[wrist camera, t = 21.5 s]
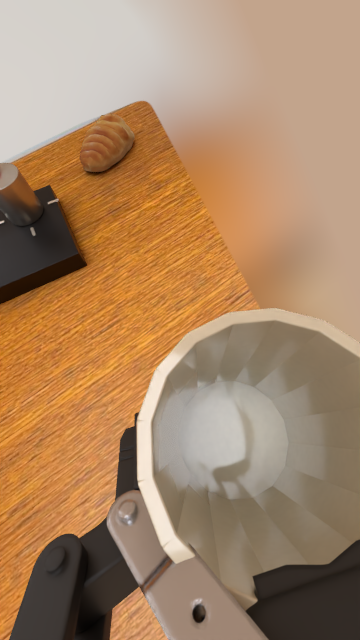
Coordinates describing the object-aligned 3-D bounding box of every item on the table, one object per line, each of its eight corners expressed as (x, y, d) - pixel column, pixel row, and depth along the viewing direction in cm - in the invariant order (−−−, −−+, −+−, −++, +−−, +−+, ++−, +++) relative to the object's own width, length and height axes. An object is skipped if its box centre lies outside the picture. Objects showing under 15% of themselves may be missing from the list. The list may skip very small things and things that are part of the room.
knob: (46, 218, 33) (19, 179, 28) (12, 231, 33) (-22, 193, 28) (39, 195, 35) (12, 155, 30) (7, 207, 34) (-26, 168, 29)
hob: (58, 195, 38) (49, 179, 36) (89, 264, 33) (80, 251, 30) (-69, 246, 36) (-88, 232, 33) (-58, 329, 31) (-80, 320, 28)
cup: (249, 358, 17) (306, 272, 8) (316, 465, 15) (517, 519, 5) (154, 408, 16) (97, 377, 7) (208, 531, 14) (228, 729, 5)
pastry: (111, 180, 39) (102, 155, 35) (72, 171, 40) (60, 146, 37) (138, 140, 42) (132, 113, 38) (102, 133, 43) (93, 107, 40)
